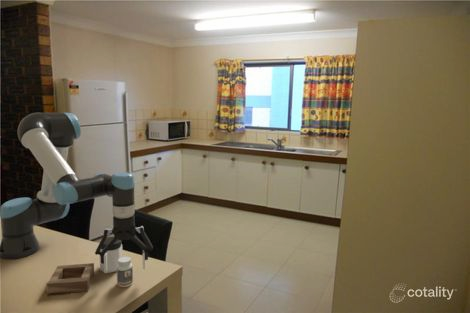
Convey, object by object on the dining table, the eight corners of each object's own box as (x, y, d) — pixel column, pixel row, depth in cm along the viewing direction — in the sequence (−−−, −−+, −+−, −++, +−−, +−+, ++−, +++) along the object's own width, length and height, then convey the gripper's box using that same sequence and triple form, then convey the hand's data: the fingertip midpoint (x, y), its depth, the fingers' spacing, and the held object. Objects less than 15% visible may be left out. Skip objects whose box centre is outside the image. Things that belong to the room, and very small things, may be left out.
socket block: (58, 276, 126) (57, 265, 125) (94, 273, 129) (93, 263, 129) (47, 295, 114) (46, 284, 113) (87, 292, 117) (87, 280, 116)
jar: (102, 275, 128) (101, 246, 127) (98, 266, 135) (97, 239, 133) (125, 269, 133) (124, 242, 131) (120, 261, 140) (119, 234, 138)
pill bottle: (135, 283, 123) (135, 259, 122) (121, 289, 119) (121, 264, 118) (128, 278, 127) (127, 254, 126) (114, 283, 123) (113, 259, 121)
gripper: (84, 220, 112) (87, 277, 115) (158, 216, 118) (159, 271, 121) (89, 213, 119) (91, 267, 123) (158, 210, 125) (159, 261, 129)
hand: (125, 269), depth 122 cm, fingers open, 13 cm apart
